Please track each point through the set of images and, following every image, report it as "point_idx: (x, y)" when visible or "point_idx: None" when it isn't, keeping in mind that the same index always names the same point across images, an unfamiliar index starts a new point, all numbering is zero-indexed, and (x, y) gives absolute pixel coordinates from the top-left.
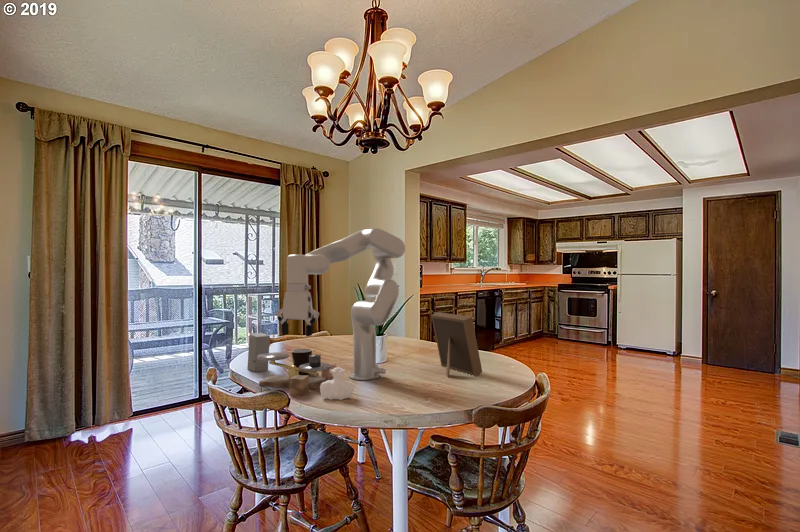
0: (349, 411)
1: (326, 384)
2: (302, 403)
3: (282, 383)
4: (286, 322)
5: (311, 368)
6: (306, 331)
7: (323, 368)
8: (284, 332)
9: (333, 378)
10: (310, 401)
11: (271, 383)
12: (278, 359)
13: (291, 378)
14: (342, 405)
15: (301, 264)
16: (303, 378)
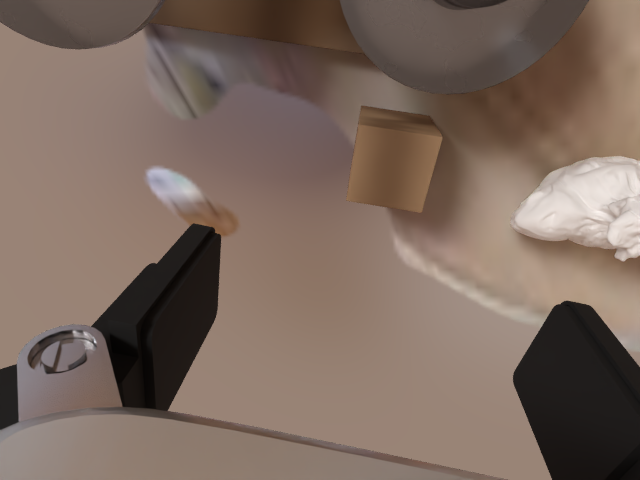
0: (620, 329)
1: (555, 239)
2: (433, 262)
3: (256, 37)
4: (127, 391)
5: (451, 53)
6: (537, 434)
7: (549, 43)
8: (206, 330)
9: (608, 222)
10: (461, 241)
11: (190, 28)
12: (157, 8)
13: (355, 199)
14: (598, 279)
15: None
16: (423, 197)
